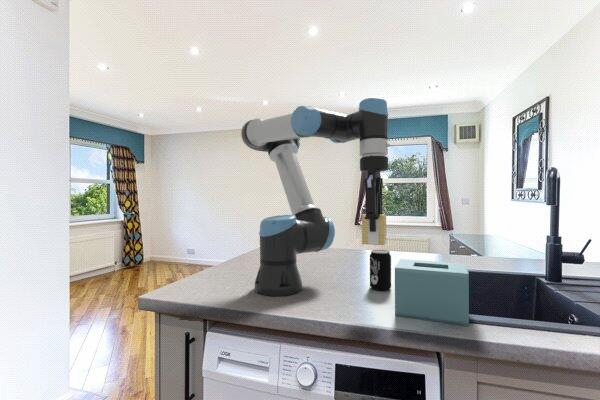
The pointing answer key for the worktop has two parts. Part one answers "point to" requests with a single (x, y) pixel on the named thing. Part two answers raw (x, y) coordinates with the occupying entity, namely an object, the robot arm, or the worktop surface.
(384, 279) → the beverage can
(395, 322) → the worktop surface
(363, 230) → the beige rectangular block
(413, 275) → the coin box
